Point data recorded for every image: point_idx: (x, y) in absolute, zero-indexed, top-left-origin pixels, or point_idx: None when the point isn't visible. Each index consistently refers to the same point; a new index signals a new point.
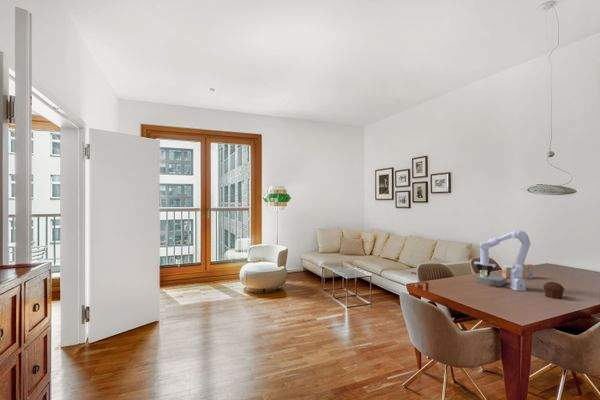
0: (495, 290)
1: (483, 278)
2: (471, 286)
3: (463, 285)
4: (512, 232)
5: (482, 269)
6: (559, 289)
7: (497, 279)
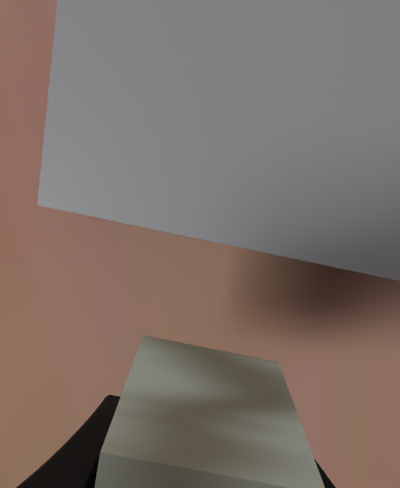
0: (330, 461)
1: (156, 228)
2: None
3: (3, 461)
4: None
5: (108, 474)
6: None
7: (384, 152)
